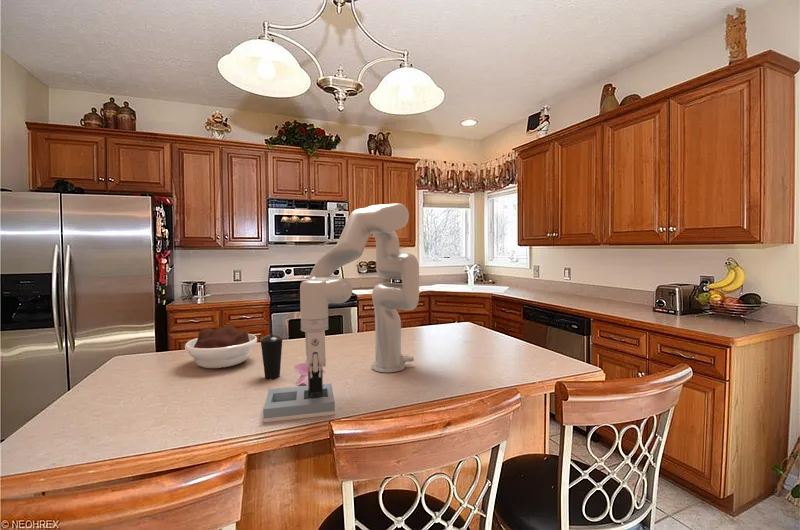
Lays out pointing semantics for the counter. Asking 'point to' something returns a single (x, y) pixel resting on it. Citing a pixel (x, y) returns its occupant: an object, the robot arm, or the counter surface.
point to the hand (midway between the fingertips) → (315, 387)
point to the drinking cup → (271, 354)
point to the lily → (303, 372)
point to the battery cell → (310, 394)
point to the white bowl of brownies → (221, 347)
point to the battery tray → (297, 403)
